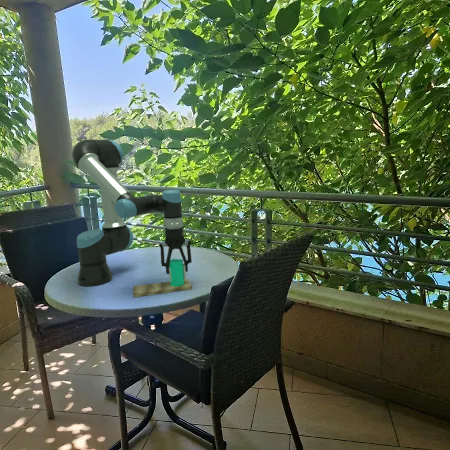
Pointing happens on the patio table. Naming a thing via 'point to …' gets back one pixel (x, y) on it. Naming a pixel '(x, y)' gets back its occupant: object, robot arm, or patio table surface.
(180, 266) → the candle
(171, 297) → the patio table surface
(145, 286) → the oak board
